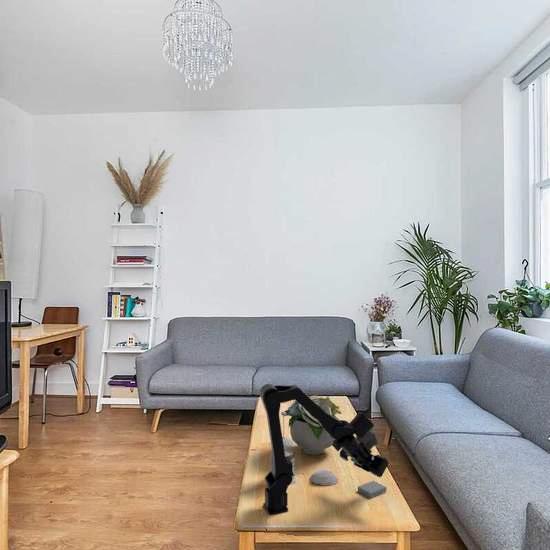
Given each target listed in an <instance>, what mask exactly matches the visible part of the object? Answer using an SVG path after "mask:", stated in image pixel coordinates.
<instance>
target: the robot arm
mask: <svg viewBox="0 0 550 550" xmlns="http://www.w3.org/2000/svg"><path fill="white" fill-rule="evenodd" d="M259 397H260V399H261V402H262V405H263V408H264V410H265V413H266V419H267V425H268V432H269V434H268V435H269V439H270V446H271V454H272V457H271V463H270V464H271V465H270V466H271V467H270V471H268V473H267V475H265V476H264V481H265V483H266V485H267V487H265V488H264V503H263V504H262V505H263V507H264V508H265V510H266V512H267V513H268V515H275V514H279V513H280V514H281V513H285V512H288V511H289V508H288V504H289V503H288V499H289V498H288V496H289V495H288V492H287V490H288V487H289V486H290V484H291V482H292V476H295V473H294V472H293V471H292V462H291V460H290V459H289V457H288V456H287V457H285V452H284V449H285V447H284V445H283V438H282V437H283V432H282V431H283V430H282V426H281V424H282V423H281V417H280V411H281V404H284V403H285V404H286V403H288V402H291V401H297V402H298V403H299V404H300V405H302V406H303V407H304V408H305V409H306V410H307V411H308V412H309V413H311V414H312V415H313V416H314V417H315V418H316V419H317V420H318V421H319V422H320V424H321V425H322V426H323V428H324V429H325V430H326V431H327V432H328V433H329V435H330V436H331V437H332V438H334V439H335V440H333V444H332V446H331V447H333V448H334V450H335V451H336V452H339V457H340V458H341V459H342V460H344V461H346V462H348V461H349V460H351V462H353V465H354V466H355V467H358V468H360V469H362V470H364V471H365V472H367V473H371V474H372V475H374V476H376V477H378V478H382V477H383V474H385V471H386V469H387V468H388V465H390V463H389V462H390V461H389V460H388V459H387V457H385V456H382V455H380V454H376V455H375V454H372V452H373V451H372V450H371V449H373V448H374V447H375V446H376V445H378V439H377V436H376V434H375V433H373V432H371V431H372V430H373V429H374V428H375V426H376V425H375V424H374V423H373V422H372V421H371V420H370V419H369V418H368V417H366V416H365V415H364V414H363V413H362V412H361V411H358V412H357V413H356V415H355V416H354V418H352V420H351V421H349V422H348V420H343V419H339V418H338V417H337V416H336V415H335V416H333V415H331V414H330V413H328V412H326V411H324V410H323V409H321V408H320V407H319V406H318V405H317V404H316V403H315V402H314V401H312V400H311V399H310V398H309V397H308V396H307V394H306V393H305V392H304V391H303V390H302V389H301V388H300V387H299V386H298V385H296V384H293V385H292V384H291V385H281V384H279V385H273V384H271V383H266V384H264V385H262V386H261V388H260V389H259ZM336 417H337V418H336ZM349 457H350V459H349ZM293 473H294V474H293ZM291 485H292V484H291Z"/></svg>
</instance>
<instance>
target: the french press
mask: <svg viewBox="0 0 550 550" xmlns="http://www.w3.org/2000/svg"><path fill="white" fill-rule="evenodd" d="M280 414H281V416H282V418H283V421H282V423H283V427H282V428H283V430H282V431H283V432H282V438H283V445H284V452H285V457H287V456H288V457H289V459H290V460H291V462H292V471H293V474H294V476H292V482H291V485H293V484H295V483H296V482H297V480H296V479H297V477H296V476H295V462H294V461H295V456H294V453H293V451H292V450H289V449H287V448H289V447H292V446H293V445H294V444H295V442H294V441H293V440H292V438H290V437H287V436H285V417H286V416H285V415H286V412H285V411H281V413H280ZM285 448H286V449H285ZM295 481H296V482H295ZM294 482H295V483H294ZM292 483H293V484H292Z"/></svg>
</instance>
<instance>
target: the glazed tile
mask: <svg viewBox="0 0 550 550" xmlns="http://www.w3.org/2000/svg"><path fill="white" fill-rule="evenodd" d="M358 491H359V493H360V492H361V493H360V494H362V493H363V495H364V496H366V497H367V498H369V499H372V498H374V496H375V497H376V495H377V496H379V495H378V494H380V495H381V493H382V494H384V493H386V492H387V486H385V485H383V484H381V483H380V482H378V481H375V480H372V481H369V482H366V483H364V484H361V485H358V486H357V492H358ZM385 491H386V492H385ZM383 492H384V493H383Z"/></svg>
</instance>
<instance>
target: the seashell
mask: <svg viewBox="0 0 550 550" xmlns="http://www.w3.org/2000/svg"><path fill="white" fill-rule="evenodd" d="M309 479H310V480H311V482H312V483H314V484H316V485H321V486H334V485H336V484H338V483H339V478H338V477H337V475H335V473H334V472H332V471H331V470H328V469H325V468H319V469H317V470H316V471H314V472H313V473H312V474H311V475H310V478H309Z"/></svg>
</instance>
